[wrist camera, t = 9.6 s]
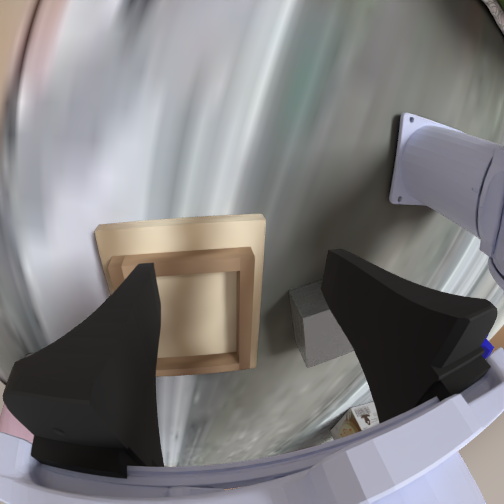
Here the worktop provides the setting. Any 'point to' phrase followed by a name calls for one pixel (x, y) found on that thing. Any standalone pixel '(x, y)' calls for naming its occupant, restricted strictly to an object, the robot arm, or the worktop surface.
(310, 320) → the block
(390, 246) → the worktop surface
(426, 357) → the robot arm
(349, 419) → the coffee box
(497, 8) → the cookie jar
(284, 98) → the worktop surface
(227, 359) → the tray
